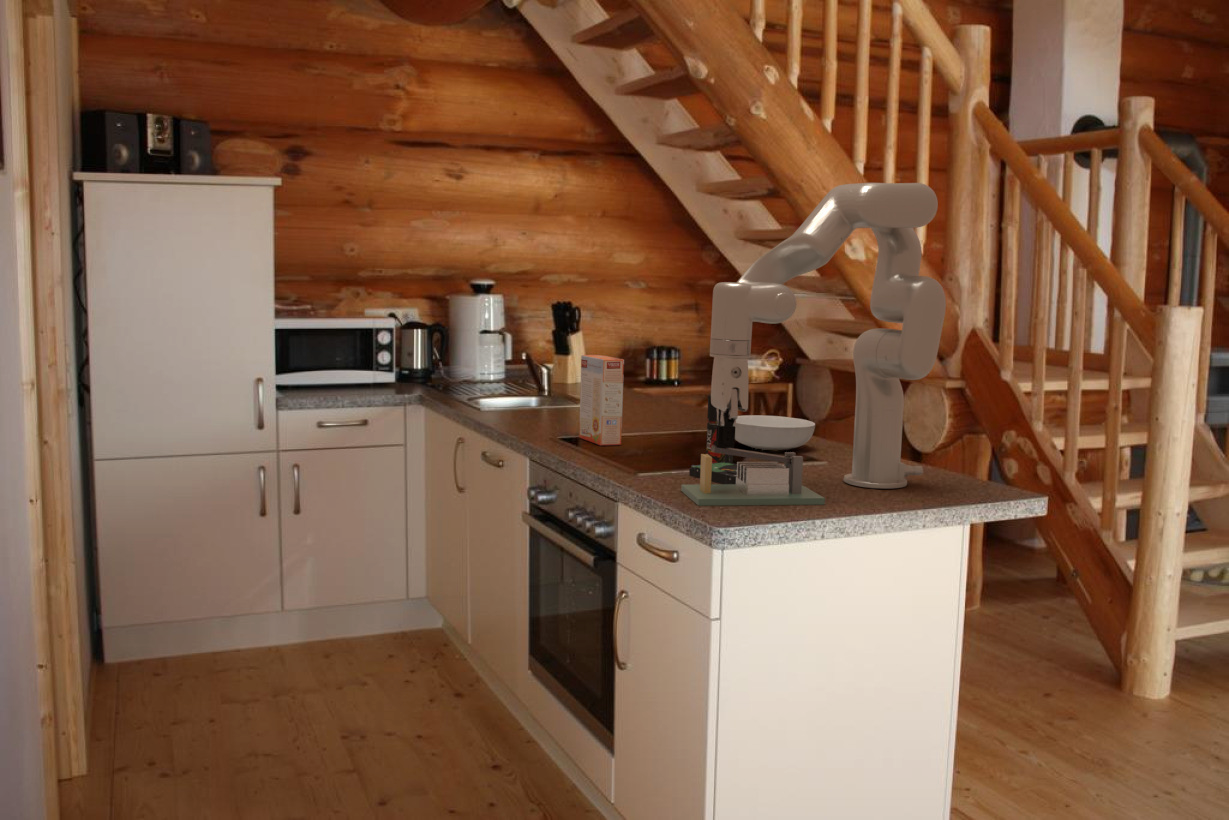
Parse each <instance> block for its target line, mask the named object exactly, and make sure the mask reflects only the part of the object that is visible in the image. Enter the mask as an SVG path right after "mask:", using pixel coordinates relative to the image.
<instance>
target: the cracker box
mask: <svg viewBox="0 0 1229 820" xmlns="http://www.w3.org/2000/svg"><path fill="white" fill-rule="evenodd" d="M580 356H581V359H580V360H581V361H580V362H581V363H580V394H579V395H580V398H579V425H578V426H579V428H578V429H579V431H578V432H579V433H578V438H580V439H582V440H585V441H588V442H590V443H593V444H596V445H598V446H601V447H604V446H605V447H606V446H608V447H609V446H621V445H622V429H623V428H622V427H623V426H622V425H623V402H624V401H623V399H624V372H625V359H623V358H618V357H613V356H609V355H602V354H583V355H582V354H581V355H580Z"/></svg>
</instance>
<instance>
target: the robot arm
mask: <svg viewBox="0 0 1229 820" xmlns="http://www.w3.org/2000/svg"><path fill="white" fill-rule="evenodd" d="M938 204H939V203H938V197H937V195H936V193H935V191H934V189H932V188H931V186H929V185H927V184H925V183H922V182H904V183H903V182H902V183H901V182H899V183H896V182H894V183H893V182H891V183H890V182H889V183H887V182H886V183H885V182H861V183H860V182H859V183H846V184H839V185H837V186H835V187H833V188H832V189H830V190H829V191H828V192H827V194H826V195H824V197H823V198H822V199H821V200H820V202H819V203H818V204H817V205H816V207H815V208H813V210H812V211H811V212H810V214H809V215H808V216H807V217H806V218H805V220H804V221H803V222H802V223H801V225H800V226H799V227H798V228H797V229H796V230H795V232H794V233H793V234H791V236H789V237H787V238H786V239H784V240H782V241H781V242H780V243H778V244H777V245H776V246H774V247H773V248H771V249H770V250H768V251H767V252H766V253H764V254H763V255H761V256H760V257H758V258H757V259H756V260H754V262H753V263H752V264H751V265H750V266H749V267H748V268H747V269H746V271H745V272H744V273H743V274H742V275H741V277H740V278H739V279H738V280H737V281H736V282H731V281H728V282H727V281H724V282H723V281H722V282H721V281H720V282H718V283H716V284H715V285H714V287H713V290H712V305H711V306H712V307H711V308H712V309H711V326H710V327H711V328H710V341H709V342H710V344H709V357H712V358H713V364H712V375H711V385H710V387H711V388H710V394H711V404H712V405H713V406H714V407H715V408H717V430H716V446H717V447H719V448H734V449H735V443H736V442H735V441H736V440H735V426H736V419H737V418H738V416H739V415H738V414H739V413H738V411H740V412H743V413H744V412H747V411H748V410H749V363H748V359H751V354H752V353H751V349H752V336H753V333H752V332H753V322H754V323H756V322H757V323H762V324H763V323H764V324H780V323H784V322H786V321H787V320H789V319H790V318H791V317H792V316H793V315H794V313H795V311H796V308H797V297H796V295H795V293H794V292H793V291H792V289H790V288H789V287H788V286H787V285H784V284H785V283H786V282H789V281H790V280H793V278H796V277H799V276H802V275H804V274H808V273H809V272H813V271H816V270H818V269H819V268H821V267H823V266H825V265H826V264H828V263H829V262H830V260H831V259H832V258H833V257H834V255H835V254H836V253H837V252H838V250H840V248H841V247H842V245H844V243H845V242H846V241H847V239H848V238H849V237H850V236H851V234H852V233H853V232H854V231H855V230H857V229H871V231H872V233H873V235H874V236H875V239H876V243H877V248H878V249H877V251H878V252H877V253H878V255H877V260H876V261H877V262H876V265H875V266H876V267H875V272H874V276H873V277H874V278H873V282H872V283H873V284H872V287H871V295H870V301H869V307H870V311H871V314H872V316H873V317H874V318H876V319H877V320H879V321H881V322H886V323H894V324H902V329H901V330H900V329H894V328H884V327H883V328H882V327H881V328H871V329H868V330H865V331H864V332H862V333H861V334H860V335H859V336H858V337H857V339H856V340H855V343H854V346H853V351H852V356H853V357H852V358H853V367H854V372H855V407H854V408H855V410H854V424H853V425H854V427H853V428H854V429H853V445H852V446H853V447H852V449H853V450H852V464H851V465H852V468H851V473H847V474H845V475H844V476H843V481H844V483H846V484H848V485H851V486H855V487H861V488H869V489H883V490H884V489H886V490H887V489H899V488H900V489H901V488H906V486H907V485H908V479H907V478H906V477H908V476H922V475H923V473H924V469H923V468H924V467H923V466H922V465H908V464H906V463H904V462H902V461H901V455H902V442H903V441H902V439H903V438H902V437H903V424H904V423H903V421H904V409H905V406H904V405H905V395H904V391H903V386H902V383H901V381H900V379H901V380H902V379H903V380H909V381H910V380H911V381H916V380H921V379H924V378H925V377H927V376H928V374H930V372H931V371H932V370H933V368H934V366H935V364H936V361H937V356H938V352H939V347H940V343H941V342H940V341H941V336H942V331H943V326H944V322H945V320H944V319H945V316H946V311H947V310H946V308H947V301H946V300H947V299H946V298H947V297H946V294H945V290H944V289H943V288H944V287H943V286H942V285H941V284H940V282H939V281H937V280H936V279H935V278H933V277H930V276H926V275H920V271H921V269H920V268H921V262H922V255H923V254H922V246H921V245H922V244H921V240H920V238H919V237H918V234H917V233H916V231H915V228H922V227H925V226H927V225H928V224H929V223H931V222H932V221H933V220H934V218H935V216H936V215H937V211H938V207H939V206H938Z"/></svg>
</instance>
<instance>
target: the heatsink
mask: <svg viewBox="0 0 1229 820" xmlns="http://www.w3.org/2000/svg"><path fill="white" fill-rule="evenodd" d="M736 464H737V477H736V488H737V489H739V490H740V491H742V492H743V493H744V494H746V495H789V484H788V482H789V468H786V466H784V465H783V464H782V463H780V462H775V461H737V462H736Z"/></svg>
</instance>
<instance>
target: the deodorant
mask: <svg viewBox="0 0 1229 820" xmlns="http://www.w3.org/2000/svg"><path fill="white" fill-rule="evenodd" d="M707 396H708V397H707V419H706V420H707V421H706V443H705V444H706V445H705V446H706V447H705V454H708V455H709V456H711V457H712V463H719V462H729V463H733V459H734V458H733V456H734V455H728V454H721V453H714V452H712V451H711V447H712V445H714V446H716V430H717V408H715V407H714V406H713V405H712V404H711V393H710V394H708V395H707Z"/></svg>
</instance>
